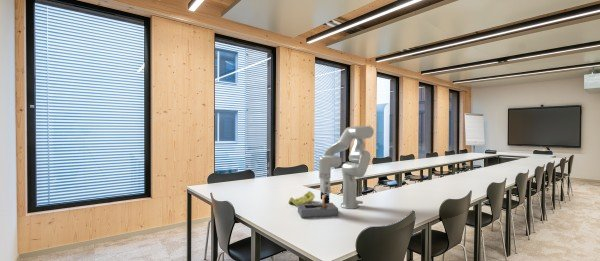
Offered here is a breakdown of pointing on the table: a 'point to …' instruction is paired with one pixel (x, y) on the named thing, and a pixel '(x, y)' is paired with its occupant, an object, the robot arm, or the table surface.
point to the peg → (323, 201)
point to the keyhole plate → (317, 210)
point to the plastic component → (302, 199)
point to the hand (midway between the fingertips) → (324, 201)
